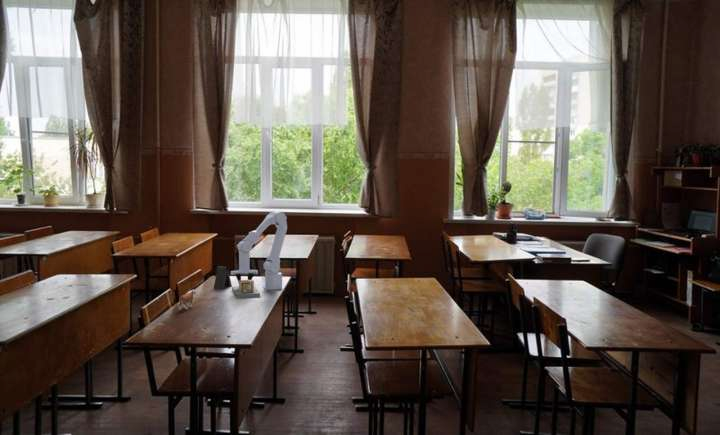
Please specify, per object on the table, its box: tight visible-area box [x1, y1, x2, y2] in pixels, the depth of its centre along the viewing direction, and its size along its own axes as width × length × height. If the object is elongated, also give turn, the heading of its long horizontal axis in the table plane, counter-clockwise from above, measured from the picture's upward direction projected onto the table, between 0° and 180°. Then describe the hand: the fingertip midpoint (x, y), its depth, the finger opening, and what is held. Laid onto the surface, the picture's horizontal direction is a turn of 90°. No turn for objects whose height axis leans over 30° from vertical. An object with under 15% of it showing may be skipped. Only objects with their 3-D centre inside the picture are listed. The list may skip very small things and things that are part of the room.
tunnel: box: [238, 279, 255, 291], centre depth 315 cm, size 8×3×5 cm, turn 110°
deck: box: [231, 285, 261, 299], centre depth 317 cm, size 12×20×2 cm, turn 20°
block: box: [242, 282, 251, 292], centre depth 317 cm, size 4×10×4 cm, turn 20°
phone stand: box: [213, 265, 233, 290], centre depth 331 cm, size 9×6×12 cm, turn 156°
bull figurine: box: [178, 289, 198, 311], centre depth 284 cm, size 4×13×8 cm, turn 164°
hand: (244, 287), depth 322 cm, fingers closed on block, 4 cm apart
